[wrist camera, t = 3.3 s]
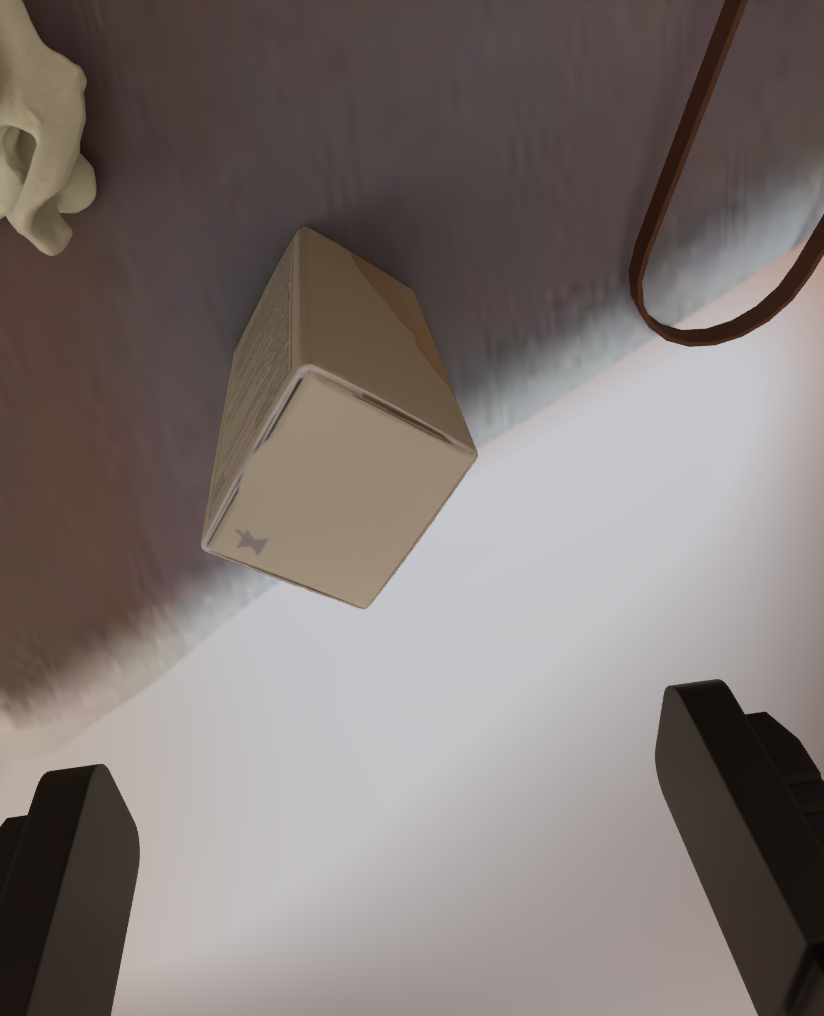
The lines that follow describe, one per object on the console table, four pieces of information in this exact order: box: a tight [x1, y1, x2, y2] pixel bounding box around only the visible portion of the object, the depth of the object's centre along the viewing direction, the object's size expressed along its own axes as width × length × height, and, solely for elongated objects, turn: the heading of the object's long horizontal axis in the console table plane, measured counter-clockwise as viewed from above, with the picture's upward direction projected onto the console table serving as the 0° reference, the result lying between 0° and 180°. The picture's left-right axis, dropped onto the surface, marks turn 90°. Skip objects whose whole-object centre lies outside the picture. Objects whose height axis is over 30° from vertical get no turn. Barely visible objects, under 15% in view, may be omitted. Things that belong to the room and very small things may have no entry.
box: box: [201, 226, 478, 609], centre depth 21 cm, size 5×4×11 cm
